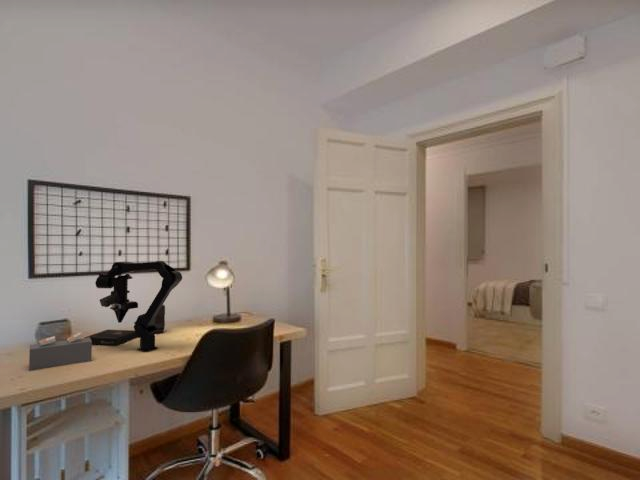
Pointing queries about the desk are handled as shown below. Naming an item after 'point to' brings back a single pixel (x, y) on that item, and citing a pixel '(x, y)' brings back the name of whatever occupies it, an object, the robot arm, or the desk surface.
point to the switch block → (60, 353)
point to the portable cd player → (112, 337)
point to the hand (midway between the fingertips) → (119, 322)
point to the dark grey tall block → (160, 320)
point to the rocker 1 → (47, 340)
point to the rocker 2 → (74, 337)
